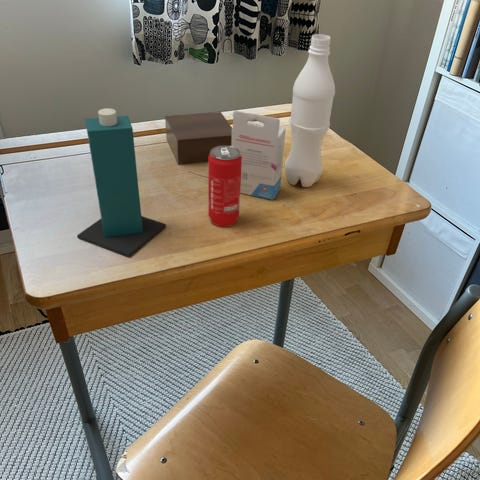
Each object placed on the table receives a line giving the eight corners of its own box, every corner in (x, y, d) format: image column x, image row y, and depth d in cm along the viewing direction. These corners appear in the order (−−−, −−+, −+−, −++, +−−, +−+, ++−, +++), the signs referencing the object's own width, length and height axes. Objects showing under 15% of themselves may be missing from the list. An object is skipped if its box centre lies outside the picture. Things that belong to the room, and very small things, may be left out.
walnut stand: (166, 139, 109) (165, 116, 106) (220, 134, 112) (220, 111, 109) (178, 164, 101) (177, 140, 98) (236, 158, 104) (237, 134, 101)
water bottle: (278, 185, 96) (293, 39, 79) (288, 169, 102) (304, 28, 85) (315, 193, 95) (339, 45, 78) (323, 176, 100) (347, 34, 83)
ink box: (280, 188, 96) (289, 108, 86) (273, 201, 92) (281, 119, 82) (238, 179, 98) (241, 100, 88) (229, 191, 94) (231, 110, 84)
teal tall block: (131, 116, 69) (126, 104, 72) (85, 119, 68) (83, 107, 71) (143, 232, 82) (138, 218, 85) (104, 237, 80) (101, 222, 84)
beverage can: (210, 229, 85) (211, 160, 76) (206, 212, 88) (206, 145, 80) (241, 226, 86) (245, 158, 77) (235, 210, 89) (238, 144, 81)
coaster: (77, 238, 81) (77, 235, 81) (117, 210, 88) (116, 207, 87) (129, 257, 78) (128, 254, 77) (165, 227, 84) (165, 223, 84)
